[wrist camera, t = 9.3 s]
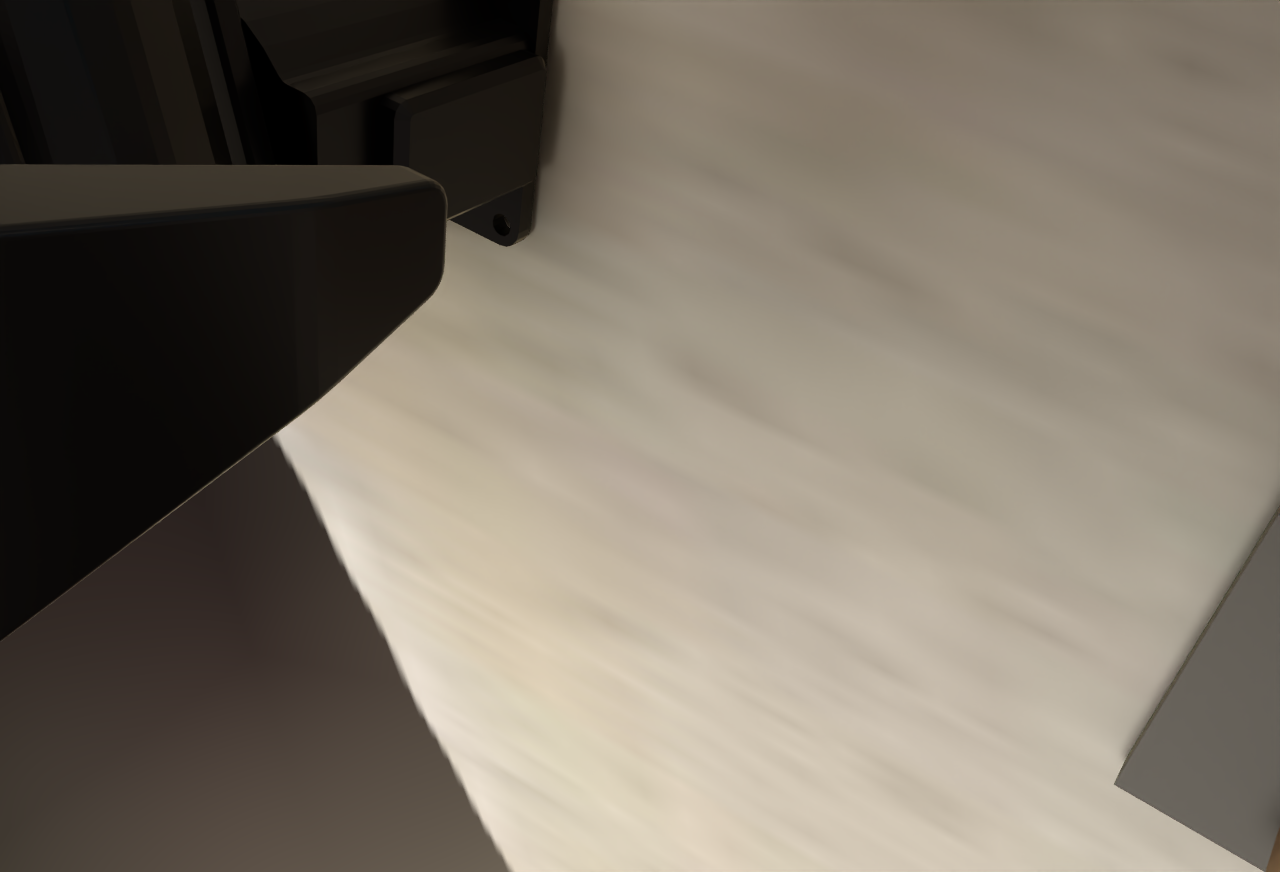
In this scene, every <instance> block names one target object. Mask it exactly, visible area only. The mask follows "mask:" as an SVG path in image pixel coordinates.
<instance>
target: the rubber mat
mask: <svg viewBox="0 0 1280 872" xmlns="http://www.w3.org/2000/svg"><path fill="white" fill-rule="evenodd" d="M1114 785H1116V786H1117V787H1119V788H1121V789H1123V790H1124V791H1126V792H1128V793H1130V794H1131V795H1133V796H1135V797H1136V798H1138V799H1140V800H1142V801H1143V802H1145V803H1147V804H1149V805H1150V806H1152V807H1154V808H1155V809H1157V810H1159V811H1161V812H1162V813H1164V814H1166V815H1168V816H1169V817H1171V818H1173V819H1174V820H1176V821H1178V822H1180V823H1181V824H1183V825H1185V826H1187V827H1188V828H1190V829H1192V830H1193V831H1195V832H1197V833H1199V834H1200V835H1202V836H1204V837H1206V838H1207V839H1209V840H1211V841H1212V842H1214V843H1216V844H1218V845H1219V846H1221V847H1223V848H1225V849H1226V850H1228V851H1230V852H1231V853H1233V854H1235V855H1237V856H1238V857H1240V858H1242V859H1244V860H1245V861H1247V862H1249V863H1250V864H1252V865H1254V866H1256V867H1257V868H1259V869H1261V870H1262V871H1264V872H1265V871H1266V868H1267V865H1268V862H1269V858H1270V855H1271V852H1272V849H1273V846H1274V843H1275V840H1276V836H1277V833H1278V830H1279V828H1280V506H1279V508H1278V510H1277V511H1276V513H1275V515H1274V516H1273V518H1272V520H1271V521H1270V523H1269V525H1268V526H1267V528H1266V529H1265V531H1264V533H1263V534H1262V536H1261V538H1260V539H1259V541H1258V543H1257V544H1256V546H1255V548H1254V549H1253V551H1252V552H1251V554H1250V556H1249V557H1248V559H1247V561H1246V562H1245V564H1244V566H1243V567H1242V569H1241V571H1240V572H1239V574H1238V576H1237V577H1236V579H1235V580H1234V582H1233V584H1232V585H1231V587H1230V589H1229V590H1228V592H1227V594H1226V595H1225V597H1224V599H1223V600H1222V602H1221V603H1220V605H1219V607H1218V608H1217V610H1216V612H1215V613H1214V615H1213V617H1212V618H1211V620H1210V622H1209V623H1208V625H1207V627H1206V628H1205V630H1204V631H1203V633H1202V635H1201V636H1200V638H1199V640H1198V641H1197V643H1196V645H1195V646H1194V648H1193V650H1192V651H1191V653H1190V654H1189V656H1188V658H1187V659H1186V661H1185V663H1184V664H1183V666H1182V668H1181V669H1180V671H1179V673H1178V674H1177V676H1176V678H1175V679H1174V681H1173V682H1172V684H1171V686H1170V687H1169V689H1168V691H1167V692H1166V694H1165V696H1164V697H1163V699H1162V701H1161V702H1160V704H1159V705H1158V707H1157V709H1156V710H1155V712H1154V714H1153V715H1152V717H1151V719H1150V720H1149V722H1148V724H1147V725H1146V727H1145V728H1144V730H1143V732H1142V733H1141V735H1140V737H1139V738H1138V740H1137V742H1136V743H1135V745H1134V747H1133V748H1132V750H1131V752H1130V753H1129V755H1128V756H1127V758H1126V760H1125V762H1124V764H1123V766H1122V768H1121V770H1120V772H1119V775H1118V777H1117V779H1116V781H1115V783H1114Z"/></svg>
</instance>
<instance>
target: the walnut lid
mask: <svg viewBox="0 0 1280 872" xmlns="http://www.w3.org/2000/svg"><path fill="white" fill-rule="evenodd" d="M1265 872H1280V828H1279V830H1278V833H1277V836H1276V840H1275V843H1274V846H1273V849H1272V852H1271V855H1270V858H1269V862H1268V865H1267V868H1266V871H1265Z"/></svg>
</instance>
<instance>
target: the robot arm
mask: <svg viewBox="0 0 1280 872" xmlns="http://www.w3.org/2000/svg"><path fill="white" fill-rule="evenodd" d="M552 2H553V0H0V642H1V641H2V640H4V639H5V638H6V637H8V636H9V635H10V634H12V633H13V632H14V631H16V630H17V629H18V628H19V627H21V626H22V625H23V624H25V623H26V622H27V621H29V620H30V619H31V618H33V617H34V616H35V615H37V614H38V613H39V612H41V611H42V610H43V609H45V608H46V607H47V606H49V605H50V604H51V603H53V602H54V601H55V600H57V599H58V598H59V597H60V596H62V595H63V594H64V593H66V592H67V591H68V590H70V589H71V588H72V587H74V586H75V585H76V584H78V583H79V582H80V581H82V580H83V579H84V578H85V577H87V576H88V575H90V574H91V573H92V572H94V571H95V570H96V569H98V568H99V567H100V566H102V565H103V564H104V563H105V562H107V561H108V560H109V559H111V558H112V557H113V556H115V555H116V554H117V553H119V552H120V551H121V550H123V549H124V548H125V547H126V546H128V545H129V544H131V543H132V542H133V541H135V540H136V539H137V538H139V537H140V536H141V535H142V534H144V533H145V532H146V531H148V530H149V529H150V528H152V527H153V526H154V525H156V524H157V523H158V522H160V521H161V520H162V519H164V518H165V517H166V516H168V515H169V514H170V513H172V512H173V511H174V510H176V509H177V508H178V507H180V506H181V505H182V504H183V503H185V502H186V501H187V500H189V499H190V498H191V497H193V496H194V495H195V494H197V493H198V492H199V491H201V490H202V489H203V488H205V487H206V486H207V485H209V484H210V483H211V482H213V481H214V480H215V479H217V478H218V477H219V476H221V475H222V474H223V473H224V472H226V471H227V470H229V469H230V468H231V467H232V466H234V465H235V464H236V463H237V462H239V461H240V460H242V459H243V458H244V457H246V456H247V455H248V454H250V453H251V452H252V451H254V450H255V449H256V448H258V447H259V446H260V445H262V444H263V443H264V442H266V441H267V440H268V439H270V438H271V437H272V436H273V435H275V434H276V433H277V432H279V431H280V430H281V429H283V428H284V427H285V426H287V425H288V424H289V423H291V422H292V421H293V420H295V419H296V418H297V417H299V416H300V415H301V414H302V413H304V412H305V411H306V410H307V409H309V408H310V407H311V406H312V405H314V404H315V403H316V402H317V401H319V400H320V399H321V398H322V397H323V396H324V395H326V394H327V393H328V392H329V391H330V390H331V389H332V388H333V387H335V386H336V385H337V384H338V383H339V382H340V381H341V380H342V379H343V378H344V377H346V376H347V375H348V374H349V373H350V372H351V371H352V370H353V369H354V368H355V367H356V366H357V365H358V364H359V363H361V362H362V361H363V360H364V359H365V358H366V357H367V356H368V355H369V354H370V353H371V352H372V351H373V350H375V349H376V348H377V347H378V346H379V345H380V344H381V343H382V342H383V341H384V340H385V339H386V338H387V337H388V336H390V335H391V334H392V333H393V332H394V331H395V330H396V329H397V328H398V327H399V326H400V325H401V324H402V323H404V322H405V321H406V320H407V319H408V318H409V317H410V316H411V315H412V314H413V313H414V312H415V311H416V310H417V309H419V308H420V307H421V306H422V305H423V304H424V303H425V302H426V301H427V300H428V299H429V298H430V297H431V296H432V295H433V294H434V292H435V291H436V289H437V288H438V286H439V284H440V282H441V279H442V276H443V272H444V263H445V243H446V223H447V220H451V221H453V222H455V223H457V224H459V225H461V226H463V227H465V228H467V229H469V230H471V231H473V232H475V233H477V234H479V235H481V236H483V237H485V238H487V239H489V240H491V241H493V242H495V243H497V244H499V245H502V246H506V247H507V246H511V245H514V244H516V243H518V242H520V241H522V240H524V239H525V238H526V237H527V236H528V234H529V231H530V226H531V216H532V206H533V196H534V186H535V178H536V174H537V163H538V153H539V143H540V133H541V123H542V113H543V102H544V92H545V82H546V63H547V53H548V43H549V32H550V22H551V12H552ZM504 216H505V217H506V218H507V220H508V221H509V223H510V228H509V227H508V225H507V224H506V222H505V217H504Z"/></svg>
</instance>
